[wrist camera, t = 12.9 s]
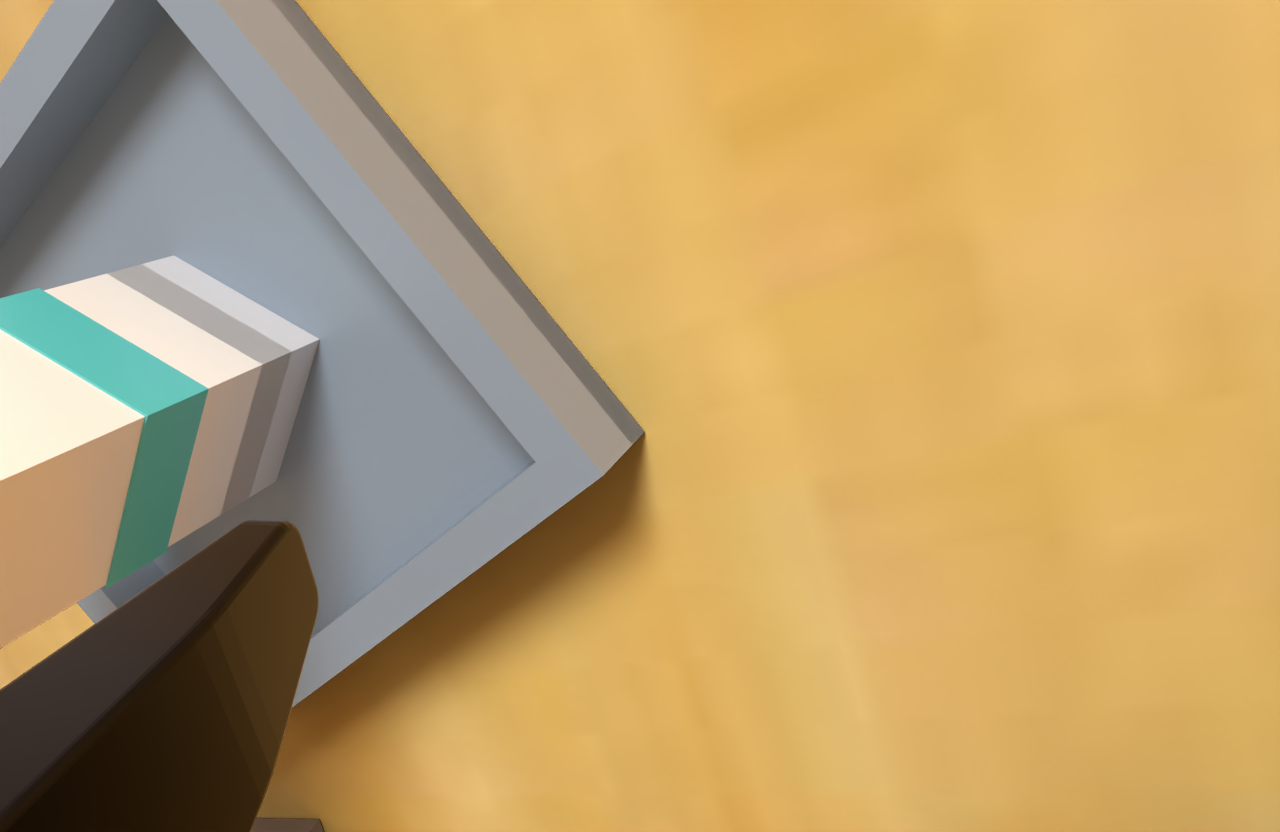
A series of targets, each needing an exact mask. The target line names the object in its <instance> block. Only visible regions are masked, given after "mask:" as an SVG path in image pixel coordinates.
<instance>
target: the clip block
mask: <svg viewBox="0 0 1280 832" xmlns="http://www.w3.org/2000/svg"><path fill="white" fill-rule="evenodd" d="M251 832H324V830H323V828H322V825H321V822H320V820H319V819H277V818H256V819H255V822H254V824H253V827H252V829H251Z"/></svg>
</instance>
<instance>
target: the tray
mask: <svg viewBox="0 0 1280 832" xmlns="http://www.w3.org/2000/svg"><path fill="white" fill-rule="evenodd" d="M170 256H176V257H178V258H179V259H181V260H183V261H184V262H186V263H188V264H190V265H191V266H193V267H195V268H197V269H198V270H200V271H202V272H204V273H205V274H207V275H209V276H211V277H212V278H214V279H216V280H217V281H219V282H221V283H223V284H224V285H226V286H228V287H230V288H231V289H233V290H235V291H237V292H238V293H240V294H242V295H244V296H245V297H247V298H249V299H250V300H252V301H254V302H256V303H257V304H259V305H261V306H263V307H264V308H266V309H268V310H270V311H271V312H273V313H275V314H277V315H278V316H280V317H282V318H284V319H285V320H287V321H289V322H290V323H292V324H294V325H296V326H297V327H299V328H301V329H303V330H304V331H306V332H308V333H310V334H311V335H313V336H315V337H317V338H318V339H320V340H319V343H318V346H317V349H316V353H315V356H314V359H313V362H312V366H311V369H310V372H309V376H308V379H307V382H306V385H305V389H304V392H303V395H302V398H301V402H300V405H299V408H298V411H297V415H296V418H295V421H294V425H293V428H292V431H291V434H290V438H289V441H288V444H287V447H286V451H285V454H284V457H283V461H282V464H281V467H280V470H279V474H278V477H277V480H276V482H274V483H273V484H271V485H270V486H268V487H266V488H265V489H263V490H261V491H260V492H258V493H256V494H255V495H253V496H251V497H250V498H248V499H246V500H245V501H243V502H242V503H240V504H238V505H237V506H235V507H233V508H232V509H230V510H228V511H227V512H225V513H223V514H222V515H220V516H218V517H217V518H215V519H214V520H212V521H210V522H209V523H207V524H205V525H204V526H202V527H200V528H199V529H197V530H195V531H194V532H192V533H190V534H189V535H187V536H185V537H184V538H182V539H181V540H179V541H177V542H176V543H174V544H172V545H171V546H169V547H168V548H167V552H166V553H164V554H162V555H161V556H159V557H157V558H156V559H154V560H153V561H151V562H149V563H148V564H146V565H144V566H143V567H141V568H139V569H138V570H136V571H135V572H133V573H131V574H130V575H128V576H126V577H125V578H123V579H121V580H120V581H118V582H117V583H115V584H113V585H112V586H110V587H108V588H107V587H106V586H103V587H101V588H100V589H98V590H96V591H95V592H93V593H92V594H90V595H88V596H87V597H85V598H83V599H82V600H80V601H78V602H77V603H78V605H79V606H80V607H81V608H82V609H83V610H84V612H85V613H86V614H87V615H88V616H89V617H90V619H91V620H92V621H93V622H94V623H95V624H96V623H97V622H99V621H100V620H101V619H103V618H104V617H106V616H107V615H109V614H110V613H112V612H113V611H114V610H116V609H117V608H119V607H120V606H122V605H123V604H125V603H126V602H127V601H129V600H130V599H132V598H133V597H135V596H136V595H138V594H139V593H140V592H142V591H143V590H145V589H146V588H148V587H149V586H151V585H152V584H153V583H155V582H156V581H158V580H159V579H161V578H162V577H163V576H165V575H166V574H168V573H169V572H171V571H172V570H174V569H175V568H176V567H178V566H179V565H181V564H182V563H184V562H185V561H187V560H188V559H189V558H191V557H192V556H194V555H195V554H197V553H198V552H200V551H201V550H202V549H204V548H205V547H207V546H208V545H210V544H211V543H213V542H214V541H215V540H217V539H218V538H220V537H221V536H223V535H224V534H226V533H227V532H228V531H230V530H231V529H233V528H234V527H236V526H237V525H239V524H241V523H242V522H244V521H247V520H254V519H255V520H281V521H288V522H291V523H293V524H294V525H295V526H296V527H297V528H298V530H299V532H300V534H301V537H302V540H303V543H304V547H305V550H306V553H307V556H308V560H309V563H310V566H311V569H312V573H313V576H314V579H315V582H316V586H317V590H318V612H317V617H316V621H315V625H314V628H313V632H312V636H311V639H310V643H309V647H308V650H307V654H306V658H305V661H304V665H303V668H302V672H301V676H300V679H299V683H298V687H297V690H296V694H295V697H294V701H293V705H292V707H294V706H295V705H296V704H298V703H299V702H300V701H302V700H303V699H305V698H306V697H307V696H309V695H310V694H311V693H313V692H314V691H315V690H317V689H318V688H319V687H321V686H322V685H323V684H325V683H326V682H327V681H329V680H330V679H331V678H333V677H334V676H335V675H337V674H338V673H339V672H341V671H342V670H343V669H345V668H346V667H347V666H349V665H350V664H351V663H353V662H354V661H355V660H357V659H358V658H359V657H361V656H362V655H363V654H365V653H366V652H368V651H369V650H370V649H372V648H373V647H374V646H376V645H377V644H378V643H380V642H381V641H382V640H384V639H385V638H386V637H388V636H389V635H390V634H392V633H393V632H394V631H396V630H397V629H398V628H400V627H401V626H402V625H404V624H405V623H406V622H408V621H409V620H410V619H412V618H413V617H414V616H416V615H417V614H418V613H420V612H421V611H422V610H424V609H425V608H426V607H428V606H429V605H431V604H432V603H433V602H435V601H436V600H437V599H439V598H440V597H441V596H443V595H444V594H445V593H447V592H448V591H449V590H451V589H452V588H453V587H455V586H456V585H457V584H459V583H460V582H461V581H463V580H464V579H465V578H467V577H468V576H469V575H471V574H472V573H473V572H475V571H476V570H477V569H479V568H480V567H481V566H483V565H484V564H485V563H487V562H488V561H489V560H491V559H492V558H493V557H495V556H496V555H498V554H499V553H500V552H502V551H503V550H504V549H506V548H507V547H508V546H510V545H511V544H512V543H514V542H515V541H516V540H518V539H519V538H520V537H522V536H523V535H524V534H526V533H527V532H528V531H530V530H531V529H532V528H534V527H535V526H536V525H538V524H539V523H540V522H542V521H543V520H544V519H546V518H547V517H548V516H550V515H551V514H552V513H554V512H555V511H556V510H558V509H559V508H561V507H562V506H563V505H565V504H566V503H567V502H569V501H570V500H571V499H573V498H574V497H575V496H577V495H578V494H579V493H581V492H582V491H583V490H585V489H586V488H587V487H589V486H590V485H591V484H593V483H594V482H595V481H597V480H598V479H599V478H601V477H602V476H603V475H604V474H605V473H606V472H607V471H608V470H609V469H610V468H611V467H612V466H613V465H614V464H615V463H616V462H617V461H618V460H619V458H620V457H621V456H622V455H623V454H624V453H625V452H626V451H627V450H628V449H629V448H630V447H631V446H632V445H633V444H634V443H635V441H636V440H637V439H638V438H639V437H640V436H641V435H642V434H643V433H644V430H643V429H642V428H641V427H640V425H639V424H638V423H637V422H636V420H635V419H634V418H633V417H632V415H631V414H630V413H629V412H628V411H627V409H626V408H625V407H624V406H623V404H622V403H621V402H620V401H619V399H618V398H617V397H616V396H615V395H614V393H613V392H612V391H611V390H610V388H609V387H608V386H607V385H606V383H605V382H604V381H603V380H602V378H601V377H600V376H599V375H598V374H597V372H596V371H595V370H594V369H593V367H592V366H591V365H590V364H589V362H588V361H587V360H586V359H585V358H584V356H583V355H582V354H581V353H580V351H579V350H578V349H577V348H576V346H575V345H574V344H573V343H572V341H571V340H570V339H569V338H568V337H567V335H566V334H565V333H564V332H563V330H562V329H561V328H560V327H559V325H558V324H557V323H556V322H555V321H554V319H553V318H552V317H551V316H550V314H549V313H548V312H547V311H546V309H545V308H544V307H543V306H542V304H541V303H540V302H539V301H538V300H537V298H536V297H535V296H534V295H533V293H532V292H531V291H530V290H529V288H528V287H527V286H526V285H525V283H524V282H523V281H522V280H521V279H520V277H519V276H518V275H517V274H516V272H515V271H514V270H513V269H512V267H511V266H510V265H509V264H508V263H507V261H506V260H505V259H504V258H503V256H502V255H501V254H500V253H499V251H498V250H497V249H496V248H495V246H494V245H493V244H492V243H491V242H490V240H489V239H488V238H487V237H486V235H485V234H484V233H483V232H482V230H481V229H480V228H479V227H478V226H477V224H476V223H475V222H474V221H473V219H472V218H471V217H470V216H469V214H468V213H467V212H466V211H465V209H464V208H463V207H462V206H461V205H460V203H459V202H458V201H457V200H456V198H455V197H454V196H453V195H452V193H451V192H450V191H449V190H448V189H447V187H446V186H445V185H444V184H443V182H442V181H441V180H440V179H439V177H438V176H437V175H436V174H435V172H434V171H433V170H432V169H431V168H430V166H429V165H428V164H427V163H426V161H425V160H424V159H423V158H422V156H421V155H420V154H419V153H418V152H417V150H416V149H415V148H414V147H413V145H412V144H411V143H410V142H409V140H408V139H407V138H406V137H405V135H404V134H403V133H402V132H401V131H400V129H399V128H398V127H397V126H396V124H395V123H394V122H393V121H392V119H391V118H390V117H389V116H388V114H387V113H386V112H385V111H384V110H383V108H382V107H381V106H380V105H379V103H378V102H377V101H376V100H375V98H374V97H373V96H372V95H371V94H370V92H369V91H368V90H367V89H366V87H365V86H364V85H363V84H362V82H361V81H360V80H359V79H358V77H357V76H356V75H355V74H354V73H353V71H352V70H351V69H350V68H349V66H348V65H347V64H346V63H345V61H344V60H343V59H342V58H341V57H340V55H339V54H338V53H337V52H336V50H335V49H334V48H333V47H332V45H331V44H330V43H329V42H328V40H327V39H326V38H325V37H324V36H323V34H322V33H321V32H320V31H319V29H318V28H317V27H316V26H315V24H314V23H313V22H312V21H311V20H310V18H309V17H308V16H307V15H306V13H305V12H304V11H303V10H302V8H301V7H300V6H299V5H298V3H297V2H296V1H295V0H54V1H53V3H52V4H51V6H50V7H49V9H48V10H47V12H46V14H45V15H44V17H43V18H42V20H41V21H40V23H39V24H38V26H37V27H36V29H35V31H34V32H33V34H32V35H31V37H30V38H29V40H28V41H27V43H26V44H25V46H24V48H23V49H22V51H21V52H20V54H19V55H18V57H17V58H16V60H15V61H14V63H13V65H12V66H11V68H10V69H9V71H8V72H7V74H6V75H5V77H4V78H3V80H2V82H1V83H0V298H3V297H7V296H11V295H14V294H18V293H22V292H26V291H30V290H33V289H37V288H40V289H42V290H43V291H44V290H48V289H51V288H55V287H59V286H62V285H66V284H70V283H74V282H77V281H81V280H85V279H88V278H92V277H96V276H100V275H103V274H107V273H111V272H114V271H118V270H122V269H126V268H129V267H133V266H137V265H140V264H144V263H148V262H151V261H155V260H159V259H163V258H166V257H170Z"/></svg>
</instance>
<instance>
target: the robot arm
mask: <svg viewBox="0 0 1280 832" xmlns="http://www.w3.org/2000/svg"><path fill="white" fill-rule="evenodd" d="M317 612H318V590H317V586H316V582H315V579H314V576H313V573H312V569H311V566H310V563H309V560H308V556H307V553H306V550H305V547H304V543H303V540H302V537H301V534H300V532H299V530H298V528H297V527H296V526H295V525H294V524H293V523H291V522H288V521H281V520H255V519H254V520H247V521H244V522H242V523H241V524H239V525H237V526H236V527H234V528H233V529H231V530H230V531H228V532H227V533H226V534H224V535H223V536H221V537H220V538H218V539H217V540H215V541H214V542H213V543H211V544H210V545H208V546H207V547H205V548H204V549H202V550H201V551H200V552H198V553H197V554H195V555H194V556H192V557H191V558H189V559H188V560H187V561H185V562H184V563H182V564H181V565H179V566H178V567H176V568H175V569H174V570H172V571H171V572H169V573H168V574H166V575H165V576H163V577H162V578H161V579H159V580H158V581H156V582H155V583H153V584H152V585H151V586H149V587H148V588H146V589H145V590H143V591H142V592H140V593H139V594H138V595H136V596H135V597H133V598H132V599H130V600H129V601H127V602H126V603H125V604H123V605H122V606H120V607H119V608H117V609H116V610H114V611H113V612H112V613H110V614H109V615H107V616H106V617H104V618H103V619H101V620H100V621H99V622H97V623H96V624H94V625H93V626H91V627H90V628H88V629H87V630H86V631H84V632H83V633H81V634H80V635H78V636H77V637H75V638H74V639H73V640H71V641H70V642H68V643H67V644H65V645H64V646H62V647H61V648H60V649H58V650H57V651H55V652H54V653H52V654H51V655H49V656H48V657H47V658H45V659H44V660H42V661H41V662H39V663H38V664H36V665H35V666H34V667H32V668H31V669H29V670H28V671H26V672H25V673H23V674H22V675H21V676H19V677H18V678H16V679H15V680H13V681H12V682H10V683H9V684H8V685H6V686H5V687H3V688H2V689H0V832H251V829H252V827H253V824H254V822H255V819H256V817H257V814H258V812H259V809H260V807H261V804H262V802H263V799H264V796H265V793H266V791H267V788H268V785H269V783H270V780H271V777H272V775H273V771H274V768H275V765H276V761H277V758H278V755H279V752H280V748H281V745H282V741H283V737H284V734H285V730H286V727H287V723H288V719H289V716H290V712H291V708H292V705H293V701H294V697H295V694H296V690H297V687H298V683H299V679H300V676H301V672H302V668H303V665H304V661H305V658H306V654H307V650H308V647H309V643H310V639H311V636H312V632H313V628H314V625H315V621H316V617H317Z"/></svg>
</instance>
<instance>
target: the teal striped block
mask: <svg viewBox="0 0 1280 832" xmlns="http://www.w3.org/2000/svg"><path fill="white" fill-rule="evenodd" d="M319 340H320V339H318V338H317V337H315V336H313V335H311V334H310V333H308V332H306V331H304V330H303V329H301V328H299V327H297V326H296V325H294V324H292V323H290V322H289V321H287V320H285V319H284V318H282V317H280V316H278V315H277V314H275V313H273V312H271V311H270V310H268V309H266V308H264V307H263V306H261V305H259V304H257V303H256V302H254V301H252V300H250V299H249V298H247V297H245V296H244V295H242V294H240V293H238V292H237V291H235V290H233V289H231V288H230V287H228V286H226V285H224V284H223V283H221V282H219V281H217V280H216V279H214V278H212V277H211V276H209V275H207V274H205V273H204V272H202V271H200V270H198V269H197V268H195V267H193V266H191V265H190V264H188V263H186V262H184V261H183V260H181V259H179V258H178V257H176V256H170V257H166V258H163V259H159V260H155V261H151V262H148V263H144V264H140V265H137V266H133V267H129V268H126V269H122V270H118V271H114V272H111V273H107V274H103V275H100V276H96V277H92V278H88V279H85V280H81V281H77V282H74V283H70V284H66V285H62V286H59V287H55V288H51V289H48V290H44V291H43V290H42V289H40V288H37V289H33V290H30V291H26V292H22V293H18V294H14V295H11V296H7V297H3V298H0V649H1V648H3V647H4V646H6V645H7V644H9V643H11V642H12V641H14V640H16V639H17V638H19V637H21V636H22V635H24V634H26V633H27V632H29V631H31V630H32V629H34V628H36V627H37V626H39V625H40V624H42V623H44V622H45V621H47V620H49V619H50V618H52V617H54V616H55V615H57V614H59V613H60V612H62V611H64V610H65V609H67V608H68V607H70V606H72V605H73V604H75V603H77V602H78V601H80V600H82V599H83V598H85V597H87V596H88V595H90V594H92V593H93V592H95V591H96V590H98V589H100V588H101V587H103V586H106V587H107V588H108V587H110V586H112V585H113V584H115V583H117V582H118V581H120V580H121V579H123V578H125V577H126V576H128V575H130V574H131V573H133V572H135V571H136V570H138V569H139V568H141V567H143V566H144V565H146V564H148V563H149V562H151V561H153V560H154V559H156V558H157V557H159V556H161V555H162V554H164V553H166V552H167V548H168V547H169V546H171V545H172V544H174V543H176V542H177V541H179V540H181V539H182V538H184V537H185V536H187V535H189V534H190V533H192V532H194V531H195V530H197V529H199V528H200V527H202V526H204V525H205V524H207V523H209V522H210V521H212V520H214V519H215V518H217V517H218V516H220V515H222V514H223V513H225V512H227V511H228V510H230V509H232V508H233V507H235V506H237V505H238V504H240V503H242V502H243V501H245V500H246V499H248V498H250V497H251V496H253V495H255V494H256V493H258V492H260V491H261V490H263V489H265V488H266V487H268V486H270V485H271V484H273V483H274V482H276V480H277V477H278V474H279V470H280V467H281V464H282V461H283V457H284V454H285V451H286V447H287V444H288V441H289V438H290V434H291V431H292V428H293V425H294V421H295V418H296V415H297V411H298V408H299V405H300V402H301V398H302V395H303V392H304V389H305V385H306V382H307V379H308V376H309V372H310V369H311V366H312V362H313V359H314V356H315V353H316V349H317V346H318V343H319Z"/></svg>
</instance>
